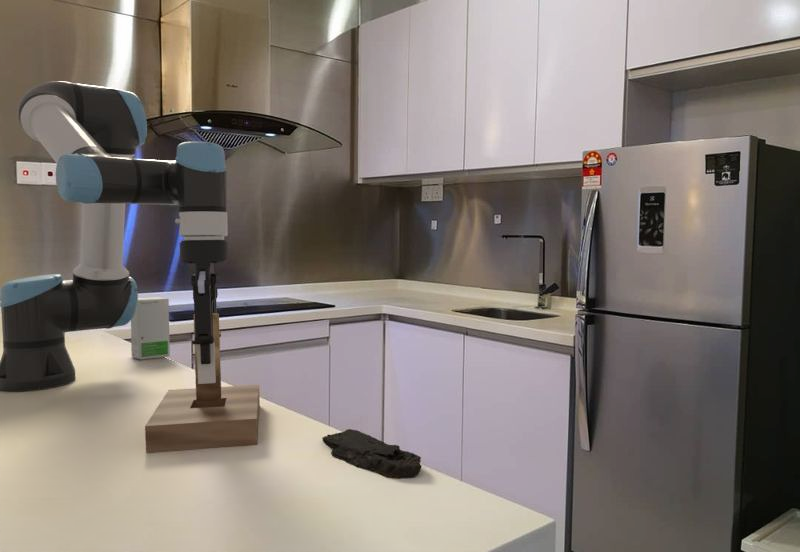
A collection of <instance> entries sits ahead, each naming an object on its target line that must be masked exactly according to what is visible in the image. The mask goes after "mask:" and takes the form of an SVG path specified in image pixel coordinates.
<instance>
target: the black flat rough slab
mask: <svg viewBox="0 0 800 552" xmlns="http://www.w3.org/2000/svg"><path fill="white" fill-rule="evenodd" d="M322 441H323V442H324V444H325V445H326V446H328V447H330V448H332V450H331V452H330V454H331V455H332V457H333V458H334V459H337V460H338V461H339V460H340V461H344V462H345V463H346V464H349V465H351V466H354V467H356V468H357V469H364V470H367V471H371V472H374V473H377V474H379V475H381V476H383V477H386V478H387V479H410V478H414V477H416V476H418V475H419V473H420V472H421V469H422V465H421V459H422V457H421V456H419V455H417V454H415V453H414V452H410V451H406V450H402V449H401V448H400V445H397V444H388V443H386V442H384V441H382V440H380V439H378V438H376V437H374V436H371V435H369V434H366V433H364V432H362V431H360V430H357V429H352V428H348V429H346V430H344V431H342V432H336V433H332V434H327V435H325V436H323V437H322Z"/></svg>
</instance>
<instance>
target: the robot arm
mask: <svg viewBox="0 0 800 552" xmlns="http://www.w3.org/2000/svg"><path fill="white" fill-rule="evenodd" d="M16 111H17V118H18V122H19V125H20V126H21V128H22V129H23V131H24V132H25V133H26V134H27V136H29V137H30V138H31V139H33V140H34V141H35V142H38V143H40V144H41V145H42V147H43V148H44V149H45V150H46V152H47V153H48V155H50V157H51V159H52V160H54V162H55V163H56V167H55V183H56V184H55V185H56V188H57V191H58V192H57V193H58V194H59V196H60V197H61V199H63V200H64V201H66V202H72V203H73V202H74V203H82V216H81V217H82V218H81V219H82V220H81V244H80V245H81V249H80V251H81V252H80V264H79V265H77V266H76V267H75V268H74V269H73V271H72V279H64V277H63V275H62V274H59V273H52V274H51V273H50V274H45V275H44V274H42V275H36V276H35V275H34V276H28V277H23V278H18V279H13V280H10V281H7V282H5V283H4V284H3V285H2V286H1V288H0V311H1V312H0V313H1V314H0V315H1V329H2V331H1V332H2V345H3V346H2V349H3V350H2V353H1V354H2V355H1V358H0V391H4V392H23V391H26V392H27V391H38V390H45V389H50V388H56V387H61V386H64V385H67V384H70V383H72V382H74V381H75V380H76V368H75V366H74V364H73V361H72V358H71V357H70V354H69V352H68V350H67V347H66V333H69V332H79V331H91V330H99V329H105V330H106V329H107V330H109V329H112V328H116V327H122V326H126V325H128V324H129V323H131V320H132V318H133V316H134V314H135V311H136V308H137V302H138V298H139V293H138V285H137V282H136V280H135V279H134V278H133V277H131V276H130V271H129V270H128V269H127V268H126V267H125V266H124V264H123V263H124V262H123V261H124V260H123V259H124V244H125V242H124V241H125V239H124V237H125V219H126V204H129V205H131V204H132V205H133V204H134V205H160V206H164V207H178V217H179V218H178V217H177V218H176V219H175V220H174V223H175V224H176V225H179V236H180V237H182V238H183V240H180V242H179V254H180V255H179V259H180V260H179V261H180V262H181V263H183V264H195V268H194V270H195V272H194V273H193V274H191V275H190V276H191V277H190V279H191V280H190V281H191V286H192V300H193V309H194V311H193V312H194V314H193V317H194V316H195V340H194V339H193V340H191V344H192V345H194V344H197V368H198V384H207V383H216V373H215V343H213V341H214V338H213V313H218V311H217V309H218V308H217V298H218V283H219V273H215V269H214V264H222V263H226V262H228V260H229V248H228V246H229V243H228V241H227V240H226V239H225V237H228V235H229V232H228V231H229V230H228V229H229V227H228V225H229V224H228V212H227V165H226V161H225V160H226V158H225V150H224V148H223V146H222V145H220V144H219V143H216V142H208V141H184V142H181V143H179V144H178V145H177V147H176V154H175V155H176V157H175V160H162V159H161V160H160V159H158V160H157V159H145V158H134V157H135V156H136V148H140V147H141V146H143V145H145V143H146V138H147V136H148V121H147V115H146V112H145V108H144V106H143V103H142V101H141V100H140V98H139V97H138V95H136V94H135V93H134V92H131V91H128V90H122V89H119V88H116V87H105V86H100V85H99V86H98V85H89V84H82V83H74V82H69V81H63V80H62V81H61V80H59V81H58V80H57V81H53V80H52V81H47V82H43V83H40V84H38V85H36V86H35V85H34V86H33V87H32V88H30V89H29V90H27V91H26V92H25V93H24V95H22V97H21V98H20V100H19V102H18V105H17V109H16ZM219 335H220V338H221V337H222V332H220V331H219Z"/></svg>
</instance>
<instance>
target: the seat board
mask: <svg viewBox="0 0 800 552" xmlns="http://www.w3.org/2000/svg"><path fill="white" fill-rule="evenodd" d="M260 401H261V400H260V384H250V385H249V384H248V385H232V386H231V385H229V386H221V398H220V399H218V400H214V401H198V400H196V387H195V388H180V389H179V388H178V389H177V388H176V389H168V390H167V392H166V393H165V395H164V396H163V398H162V400H160V402H159V404H158V405H157V407H156V408H155V410H154V411H153V413H152V415H151V416H150V417H149V419H148V421H147V422H146V424H145V425H144V431H145V433H144V437H145V454H147V453H148V454H149V453H161V452H163V453H164V452H174V451H188V450H199V449H200V450H201V449H215V448H226V447H228V448H229V447H238V446H239V447H241V446H243V447H244V446H253V445H254V446H255V445H256V446H257V445H258V440H259V439H258V438H259V421H260V407H261V406H260V404H261V402H260Z"/></svg>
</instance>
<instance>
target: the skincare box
mask: <svg viewBox="0 0 800 552" xmlns="http://www.w3.org/2000/svg"><path fill="white" fill-rule="evenodd" d="M169 301H170V300H169V298H168V297H161V296H160V297H138V302H137V308H136V311H135V314H134V316H133V318H132V320H131V321H130V333H131V334H130V336H131V337H130V340H131V341H130V342H131V345H130V346H131V350H130V351H131V357H132V358H134V359H136V360H148V359H150V360H151V359H155V358H156V359H158V358H166V357H167V358H168V357H170V356H171V353H170V351H171V350H170V349H171V347H170V345H171V344H170V309H169V308H170V307H169V306H170V303H169Z"/></svg>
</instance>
